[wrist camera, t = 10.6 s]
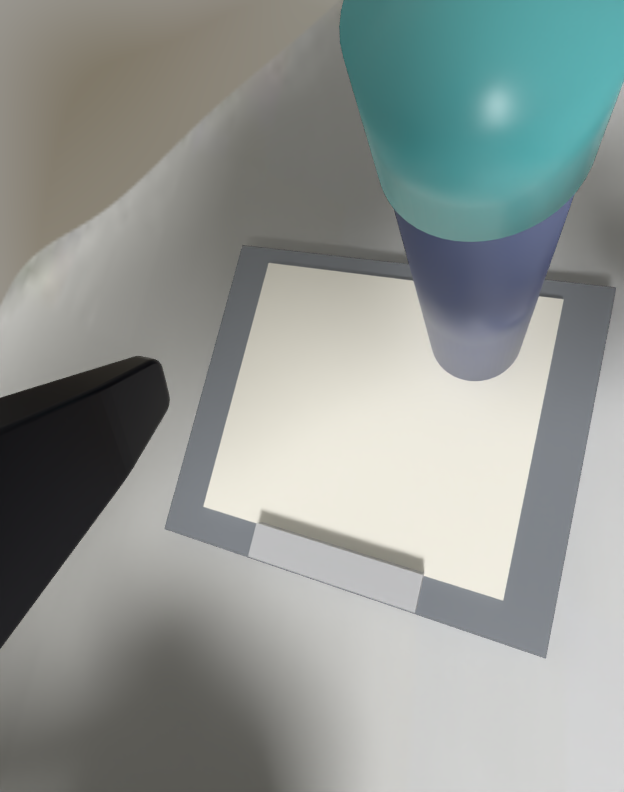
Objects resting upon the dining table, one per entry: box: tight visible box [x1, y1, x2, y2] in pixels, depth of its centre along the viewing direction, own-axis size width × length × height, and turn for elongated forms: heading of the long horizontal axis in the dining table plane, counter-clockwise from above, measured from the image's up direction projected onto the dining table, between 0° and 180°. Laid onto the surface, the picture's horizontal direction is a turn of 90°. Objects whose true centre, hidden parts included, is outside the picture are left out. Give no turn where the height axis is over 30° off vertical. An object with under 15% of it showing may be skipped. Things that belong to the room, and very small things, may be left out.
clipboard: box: [165, 245, 616, 658], centre depth 18 cm, size 12×14×1 cm
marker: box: [339, 0, 624, 381], centre depth 11 cm, size 3×3×13 cm
